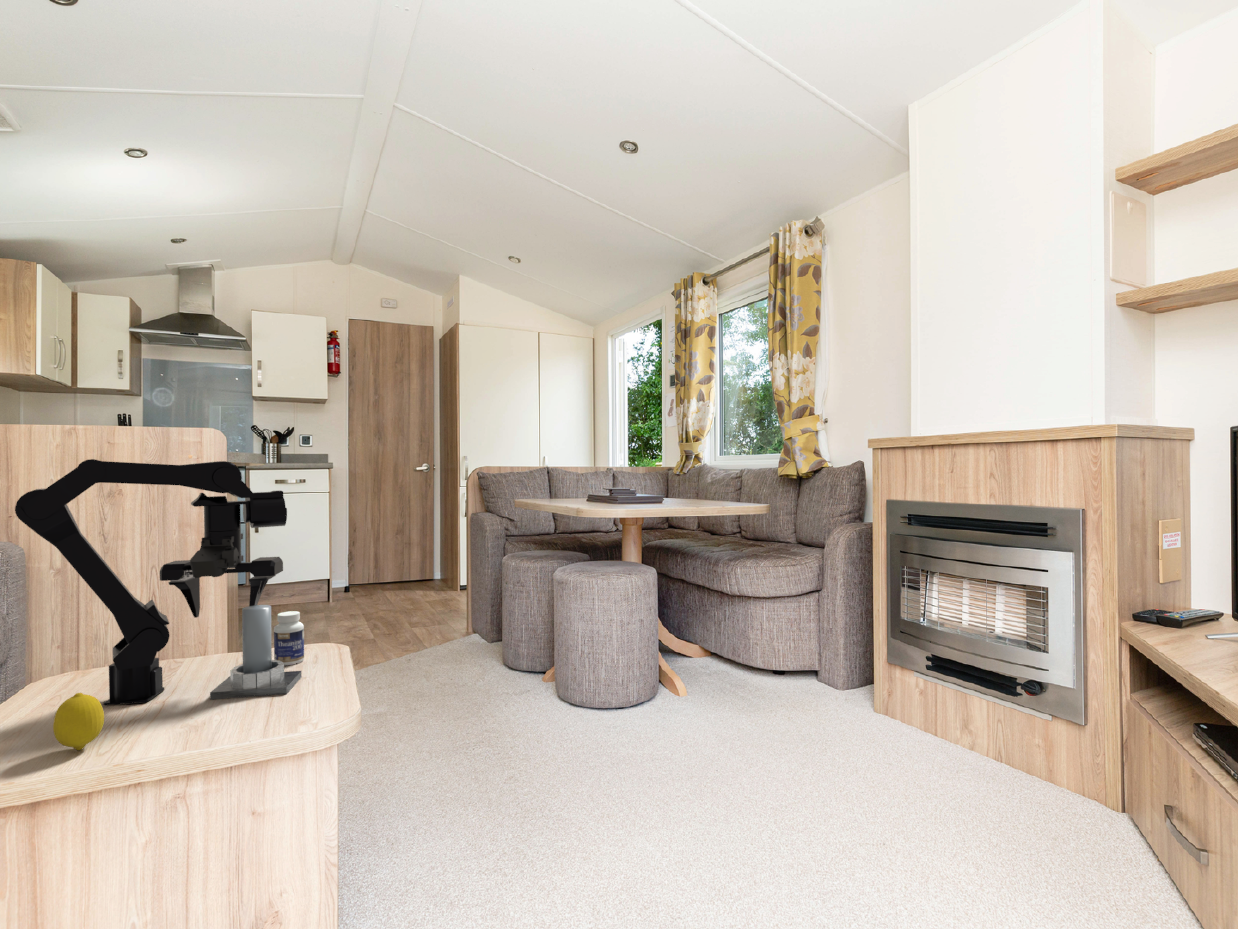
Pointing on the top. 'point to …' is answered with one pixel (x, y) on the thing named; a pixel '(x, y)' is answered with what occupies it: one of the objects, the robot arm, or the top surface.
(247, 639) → the grey rounded cylinder
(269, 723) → the top surface
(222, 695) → the duct plate
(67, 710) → the lemon
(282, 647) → the pill bottle
